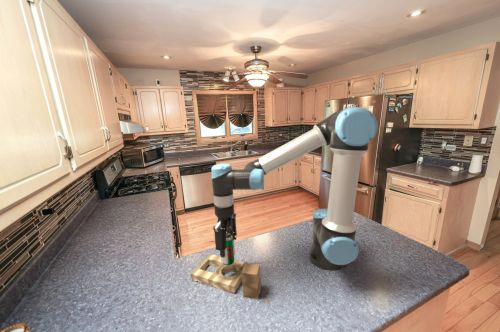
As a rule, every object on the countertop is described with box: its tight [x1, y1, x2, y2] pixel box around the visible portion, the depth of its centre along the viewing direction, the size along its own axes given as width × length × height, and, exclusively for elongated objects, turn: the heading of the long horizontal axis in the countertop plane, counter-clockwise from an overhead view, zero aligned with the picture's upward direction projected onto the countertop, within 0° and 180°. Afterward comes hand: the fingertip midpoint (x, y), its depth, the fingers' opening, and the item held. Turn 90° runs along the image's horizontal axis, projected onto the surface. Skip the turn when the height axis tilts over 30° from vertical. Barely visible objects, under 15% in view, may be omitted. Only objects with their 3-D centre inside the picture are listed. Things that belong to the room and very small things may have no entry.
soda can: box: [223, 232, 236, 266], centre depth 82 cm, size 5×5×12 cm
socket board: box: [190, 253, 247, 294], centre depth 86 cm, size 20×14×3 cm
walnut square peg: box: [241, 262, 262, 300], centre depth 76 cm, size 6×6×10 cm
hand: (228, 258), depth 83 cm, fingers closed on soda can, 5 cm apart
